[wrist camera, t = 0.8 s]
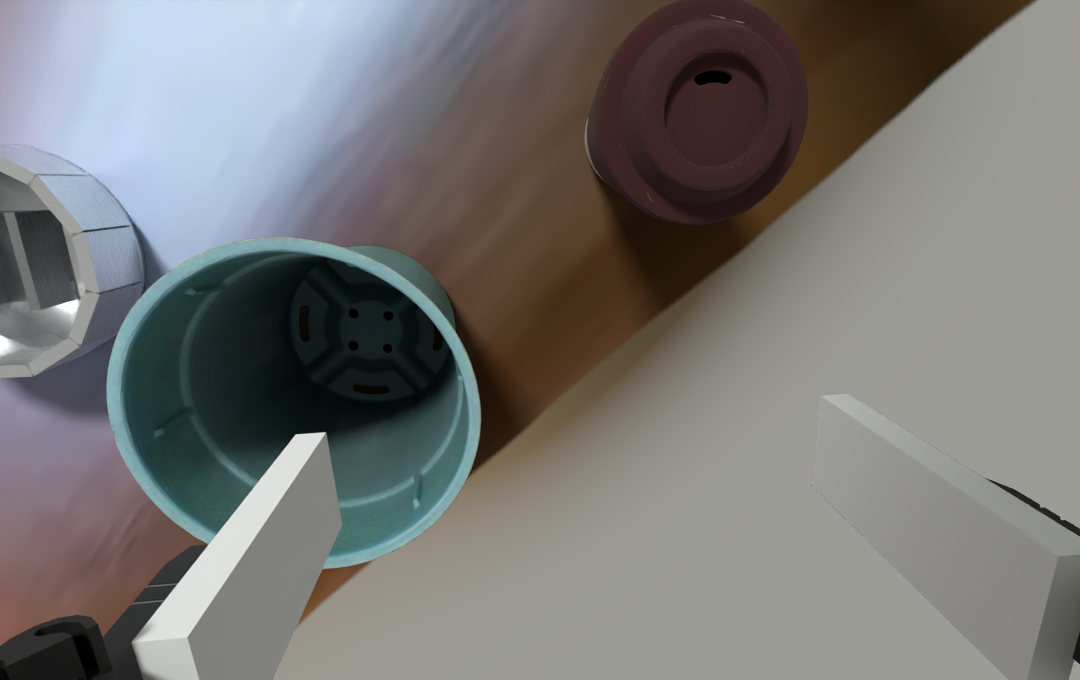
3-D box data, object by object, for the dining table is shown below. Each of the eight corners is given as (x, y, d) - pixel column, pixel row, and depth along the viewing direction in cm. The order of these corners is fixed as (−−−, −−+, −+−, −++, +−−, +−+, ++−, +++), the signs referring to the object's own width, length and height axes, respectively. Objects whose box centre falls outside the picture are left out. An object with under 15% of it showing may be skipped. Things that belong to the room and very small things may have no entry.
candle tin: (-111, 147, 35) (-207, 142, 30) (120, 144, 36) (62, 138, 31) (-43, 357, 39) (-119, 382, 34) (164, 350, 40) (119, 373, 35)
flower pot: (531, 309, 41) (552, 385, 26) (404, 469, 44) (353, 625, 28) (340, 164, 37) (230, 152, 22) (214, 349, 40) (38, 454, 25)
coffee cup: (654, 237, 40) (741, 267, 26) (537, 163, 38) (561, 152, 24) (733, 112, 38) (875, 70, 24) (614, 27, 36) (691, -74, 22)
